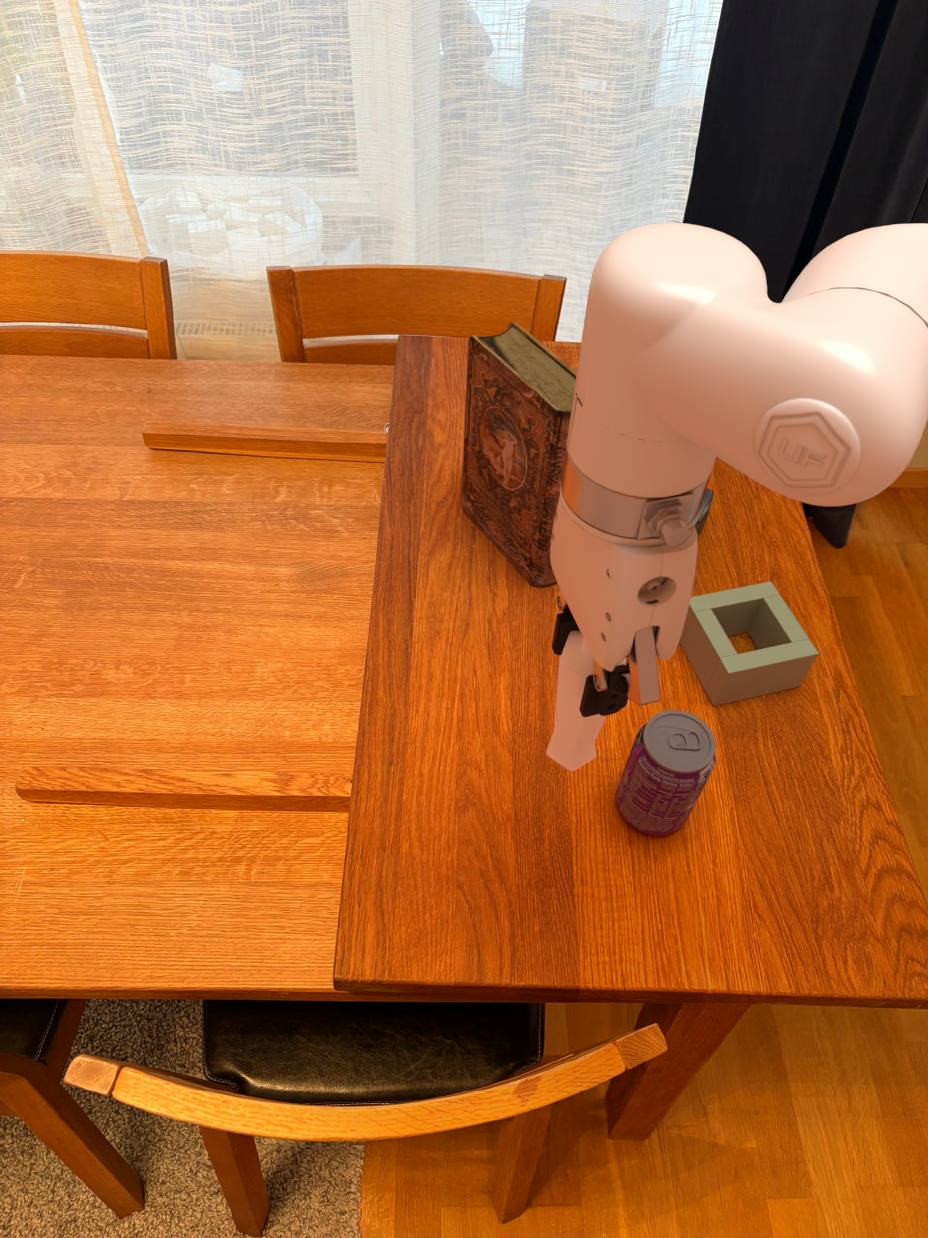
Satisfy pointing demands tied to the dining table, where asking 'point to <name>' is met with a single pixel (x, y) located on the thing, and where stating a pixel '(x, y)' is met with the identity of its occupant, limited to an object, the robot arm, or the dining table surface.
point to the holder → (769, 627)
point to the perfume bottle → (574, 707)
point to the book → (516, 445)
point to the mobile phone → (703, 511)
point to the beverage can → (666, 772)
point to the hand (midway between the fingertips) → (587, 676)
